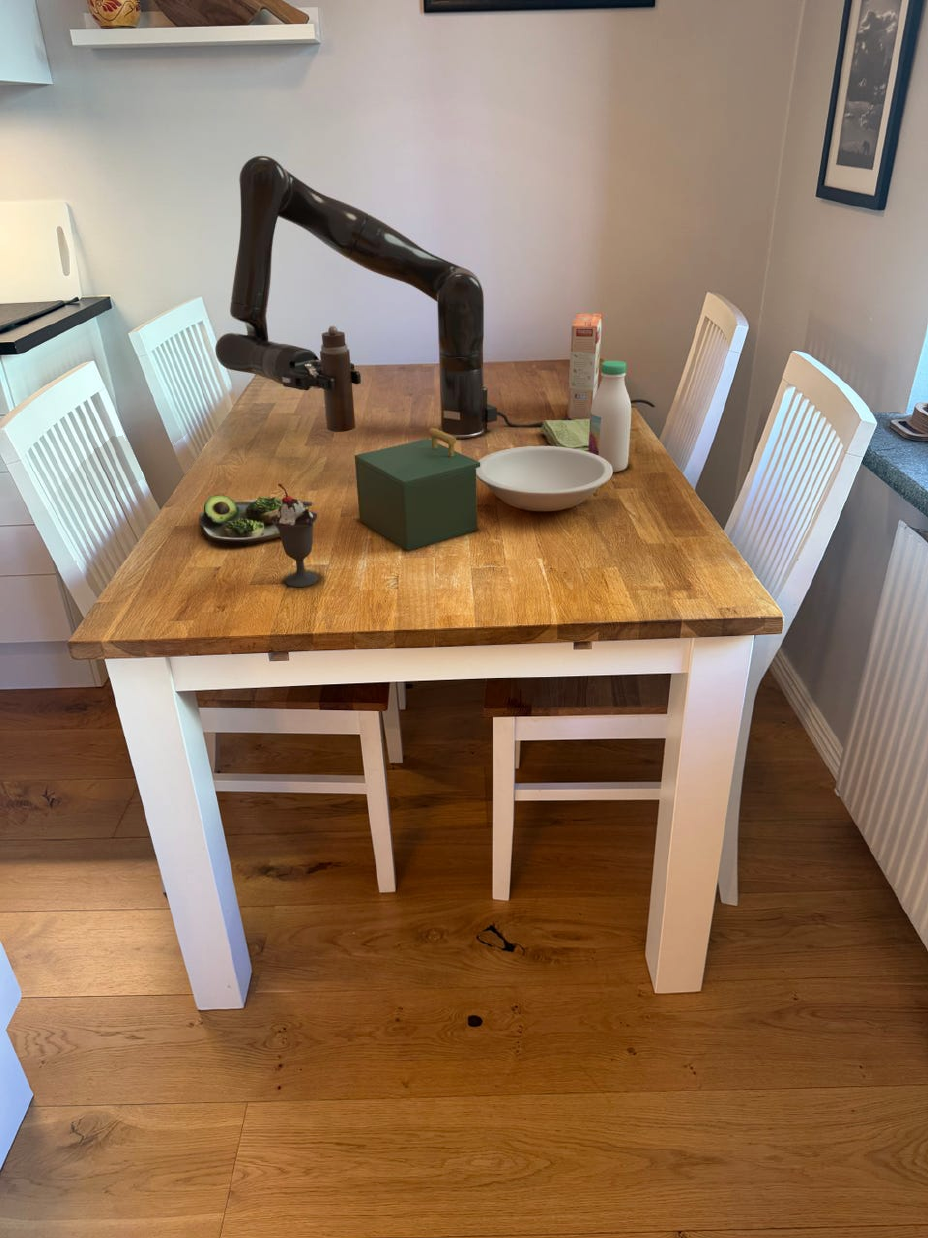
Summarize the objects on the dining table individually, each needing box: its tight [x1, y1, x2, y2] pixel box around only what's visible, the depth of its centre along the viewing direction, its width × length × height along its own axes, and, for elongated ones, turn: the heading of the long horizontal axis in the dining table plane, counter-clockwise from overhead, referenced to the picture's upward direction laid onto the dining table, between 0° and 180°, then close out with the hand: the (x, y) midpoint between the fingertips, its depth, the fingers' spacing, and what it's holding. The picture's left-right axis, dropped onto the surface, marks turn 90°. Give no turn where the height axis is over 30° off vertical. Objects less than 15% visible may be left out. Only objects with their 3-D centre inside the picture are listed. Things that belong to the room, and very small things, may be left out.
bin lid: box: [354, 427, 480, 487], centre depth 149 cm, size 14×16×4 cm
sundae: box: [271, 483, 319, 588], centre depth 134 cm, size 7×7×15 cm
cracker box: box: [566, 312, 603, 420], centre depth 206 cm, size 14×6×21 cm, turn 168°
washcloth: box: [540, 419, 590, 452], centre depth 191 cm, size 13×18×3 cm
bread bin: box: [354, 459, 478, 552], centre depth 153 cm, size 14×16×11 cm
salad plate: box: [198, 494, 313, 548], centre depth 156 cm, size 19×18×5 cm
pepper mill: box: [319, 325, 356, 433], centre depth 166 cm, size 5×5×18 cm
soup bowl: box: [476, 445, 614, 512], centre depth 162 cm, size 24×24×7 cm
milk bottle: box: [588, 360, 632, 473], centre depth 174 cm, size 8×8×20 cm
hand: (346, 381), depth 164 cm, fingers closed on pepper mill, 5 cm apart
